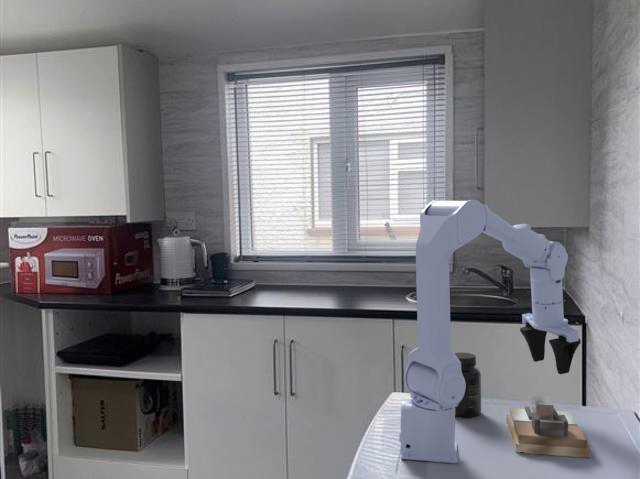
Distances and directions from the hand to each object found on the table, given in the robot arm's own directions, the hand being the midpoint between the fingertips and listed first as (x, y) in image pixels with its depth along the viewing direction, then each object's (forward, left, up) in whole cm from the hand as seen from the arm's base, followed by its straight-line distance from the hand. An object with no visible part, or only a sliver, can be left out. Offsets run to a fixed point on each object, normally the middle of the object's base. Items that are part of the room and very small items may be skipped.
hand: (550, 366), depth 112 cm
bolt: (-3, -8, -7) cm, 11 cm away
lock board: (-3, -12, -10) cm, 16 cm away
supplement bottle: (-17, -1, -10) cm, 20 cm away
